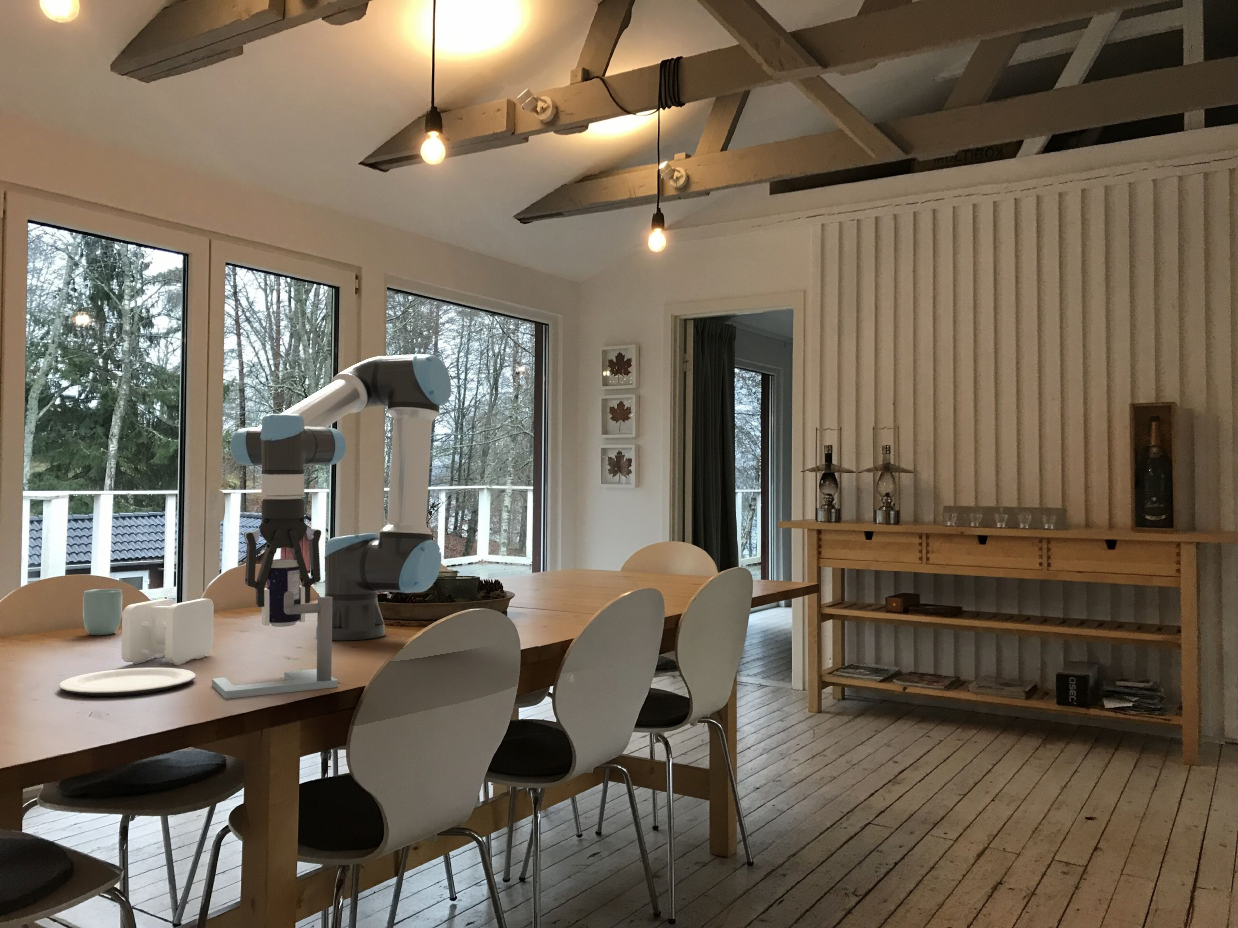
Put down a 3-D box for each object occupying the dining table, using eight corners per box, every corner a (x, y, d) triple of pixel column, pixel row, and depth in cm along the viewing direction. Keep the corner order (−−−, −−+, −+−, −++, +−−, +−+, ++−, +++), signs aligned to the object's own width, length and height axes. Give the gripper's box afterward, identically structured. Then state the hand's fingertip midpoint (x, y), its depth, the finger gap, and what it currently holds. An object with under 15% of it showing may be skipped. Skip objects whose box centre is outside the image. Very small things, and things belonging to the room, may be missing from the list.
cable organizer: (170, 668, 181) (171, 606, 181) (117, 666, 182) (119, 605, 182) (214, 655, 196) (215, 597, 196) (165, 653, 197) (166, 596, 197)
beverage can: (291, 621, 183) (290, 557, 183) (305, 624, 179) (304, 559, 179) (261, 624, 179) (261, 560, 179) (275, 628, 175) (275, 562, 175)
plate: (103, 675, 175) (103, 665, 175) (216, 676, 175) (216, 667, 175) (29, 700, 155) (30, 689, 155) (158, 702, 154) (158, 691, 154)
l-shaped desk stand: (318, 675, 175) (319, 583, 175) (337, 686, 165) (338, 589, 165) (211, 685, 165) (213, 588, 166) (225, 698, 155) (227, 594, 155)
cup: (109, 636, 218) (110, 592, 218) (75, 636, 218) (76, 592, 218) (127, 631, 226) (128, 588, 226) (94, 631, 226) (95, 588, 226)
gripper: (328, 495, 187) (328, 615, 187) (225, 498, 177) (226, 624, 177) (339, 497, 181) (339, 620, 181) (233, 499, 171) (234, 630, 171)
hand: (283, 622), depth 179 cm, fingers closed on beverage can, 6 cm apart
